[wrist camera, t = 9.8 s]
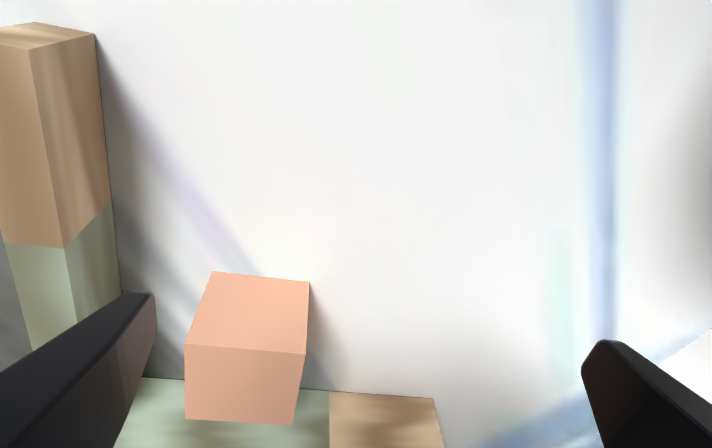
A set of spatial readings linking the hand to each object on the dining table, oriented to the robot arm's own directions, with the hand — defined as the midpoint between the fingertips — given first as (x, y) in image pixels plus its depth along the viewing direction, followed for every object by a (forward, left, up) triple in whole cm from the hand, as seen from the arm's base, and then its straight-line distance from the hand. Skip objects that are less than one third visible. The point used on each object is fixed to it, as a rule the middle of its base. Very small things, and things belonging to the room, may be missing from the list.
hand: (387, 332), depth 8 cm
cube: (+3, +11, -12) cm, 16 cm away
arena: (+2, +8, -11) cm, 14 cm away
